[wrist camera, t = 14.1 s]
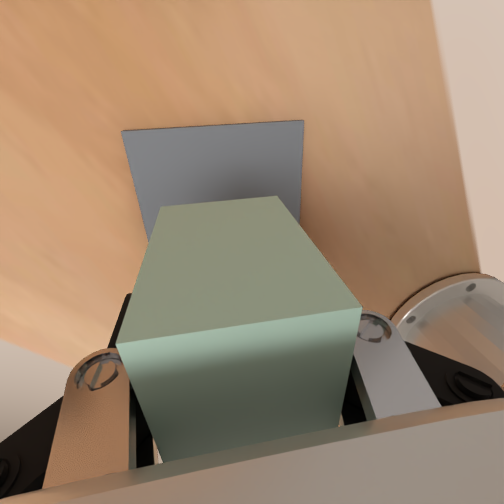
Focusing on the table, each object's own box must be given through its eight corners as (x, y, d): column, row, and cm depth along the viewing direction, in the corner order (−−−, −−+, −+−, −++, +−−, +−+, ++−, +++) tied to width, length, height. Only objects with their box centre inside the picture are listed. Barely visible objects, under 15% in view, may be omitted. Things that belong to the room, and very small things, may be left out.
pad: (295, 265, 21) (297, 268, 21) (160, 281, 20) (159, 285, 20) (301, 119, 16) (304, 120, 16) (123, 130, 15) (120, 131, 15)
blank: (276, 337, 13) (325, 489, 8) (191, 350, 13) (187, 522, 8) (276, 195, 10) (362, 307, 5) (160, 206, 9) (115, 344, 4)
